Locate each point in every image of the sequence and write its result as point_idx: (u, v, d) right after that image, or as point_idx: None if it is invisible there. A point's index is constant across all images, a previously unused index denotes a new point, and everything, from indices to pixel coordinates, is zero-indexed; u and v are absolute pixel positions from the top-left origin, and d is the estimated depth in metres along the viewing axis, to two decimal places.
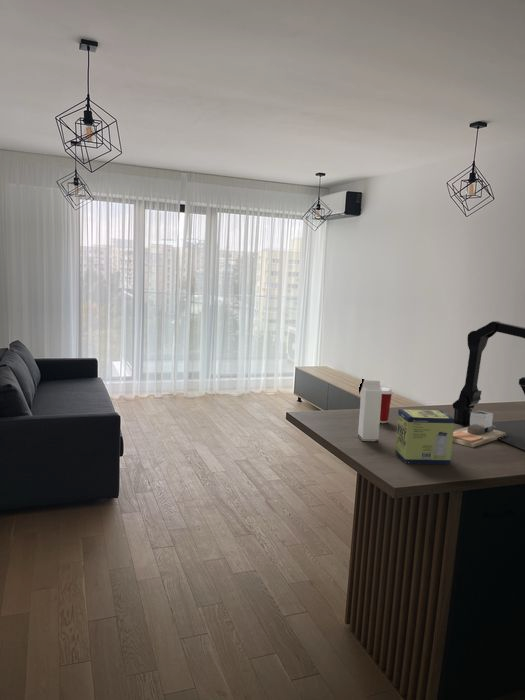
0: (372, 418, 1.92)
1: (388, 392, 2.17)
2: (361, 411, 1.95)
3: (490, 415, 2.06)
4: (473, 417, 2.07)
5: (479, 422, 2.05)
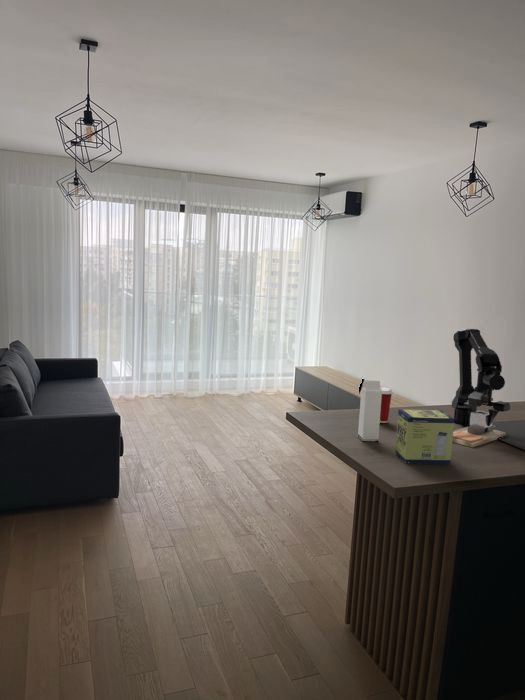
0: (372, 418, 1.92)
1: (388, 392, 2.17)
2: (361, 411, 1.95)
3: None
4: (473, 417, 2.07)
5: (479, 422, 2.05)
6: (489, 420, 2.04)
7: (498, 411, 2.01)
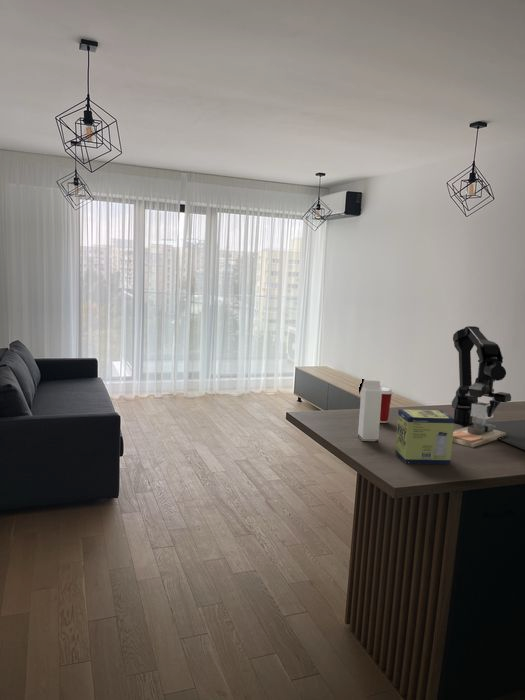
0: (372, 418, 1.92)
1: (388, 392, 2.17)
2: (361, 411, 1.95)
3: None
4: (474, 408, 2.06)
5: (480, 413, 2.04)
6: (490, 411, 2.03)
7: (499, 402, 2.01)
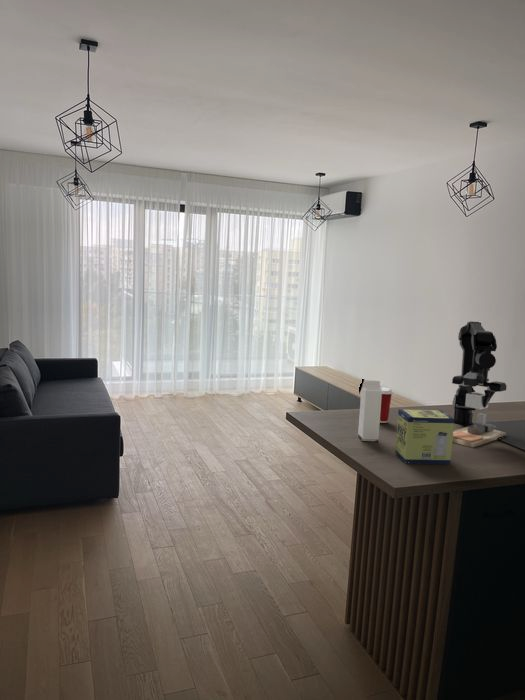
0: (372, 418, 1.92)
1: (388, 392, 2.17)
2: (361, 411, 1.95)
3: None
4: (469, 398, 2.01)
5: (475, 403, 1.99)
6: (485, 401, 1.98)
7: (494, 391, 1.96)
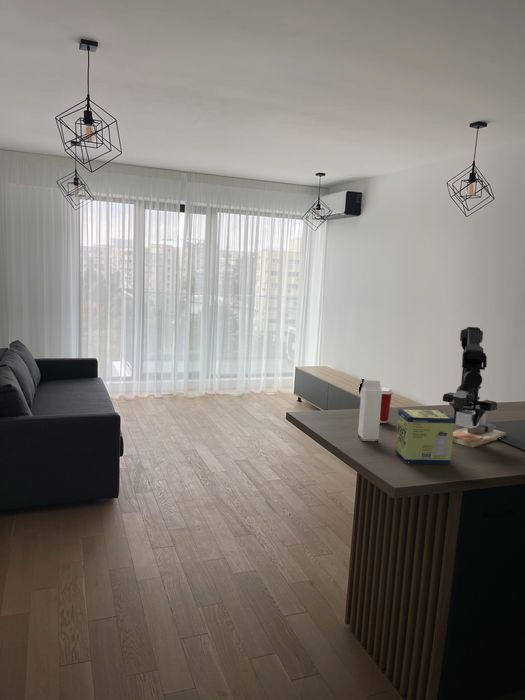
0: (372, 418, 1.92)
1: (388, 392, 2.17)
2: (361, 411, 1.95)
3: None
4: (459, 416, 1.97)
5: (465, 422, 1.96)
6: (475, 420, 1.95)
7: (485, 410, 1.92)
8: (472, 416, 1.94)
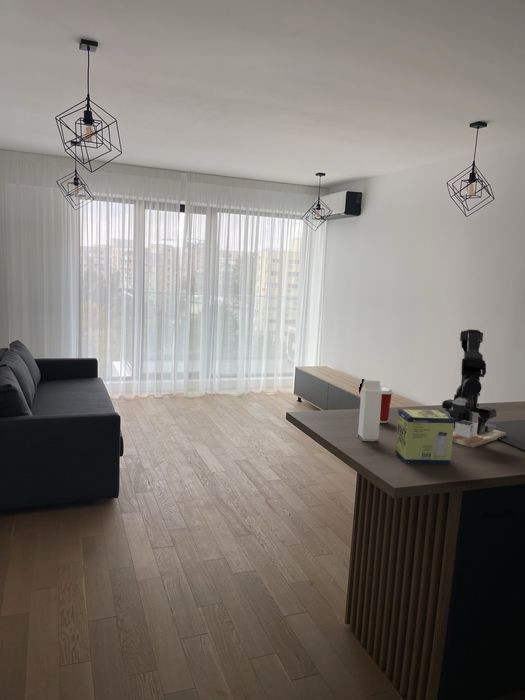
0: (372, 418, 1.92)
1: (388, 392, 2.17)
2: (361, 411, 1.95)
3: (475, 425, 1.97)
4: (458, 427, 1.98)
5: (464, 433, 1.96)
6: (478, 428, 1.94)
7: (488, 418, 1.91)
8: (471, 427, 1.95)
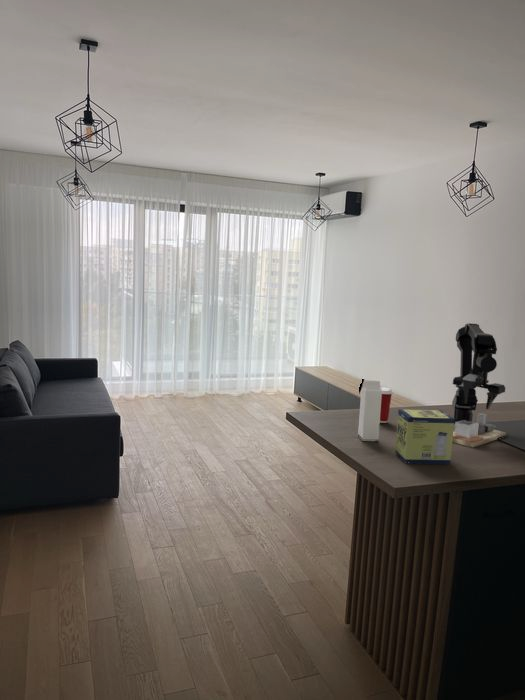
0: (372, 418, 1.92)
1: (388, 392, 2.17)
2: (361, 411, 1.95)
3: (475, 425, 1.97)
4: (458, 427, 1.98)
5: (464, 433, 1.96)
6: (488, 403, 2.02)
7: (497, 394, 1.99)
8: (471, 427, 1.95)
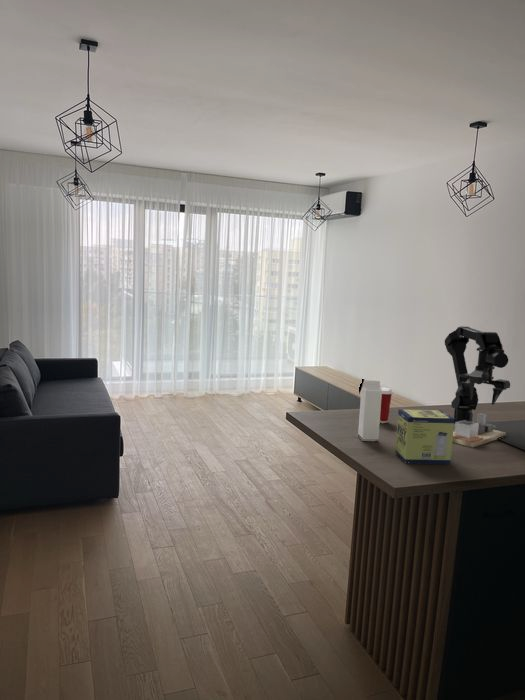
0: (372, 418, 1.92)
1: (388, 392, 2.17)
2: (361, 411, 1.95)
3: (475, 425, 1.97)
4: (458, 427, 1.98)
5: (464, 433, 1.96)
6: (493, 399, 2.07)
7: (502, 389, 2.05)
8: (471, 427, 1.95)
